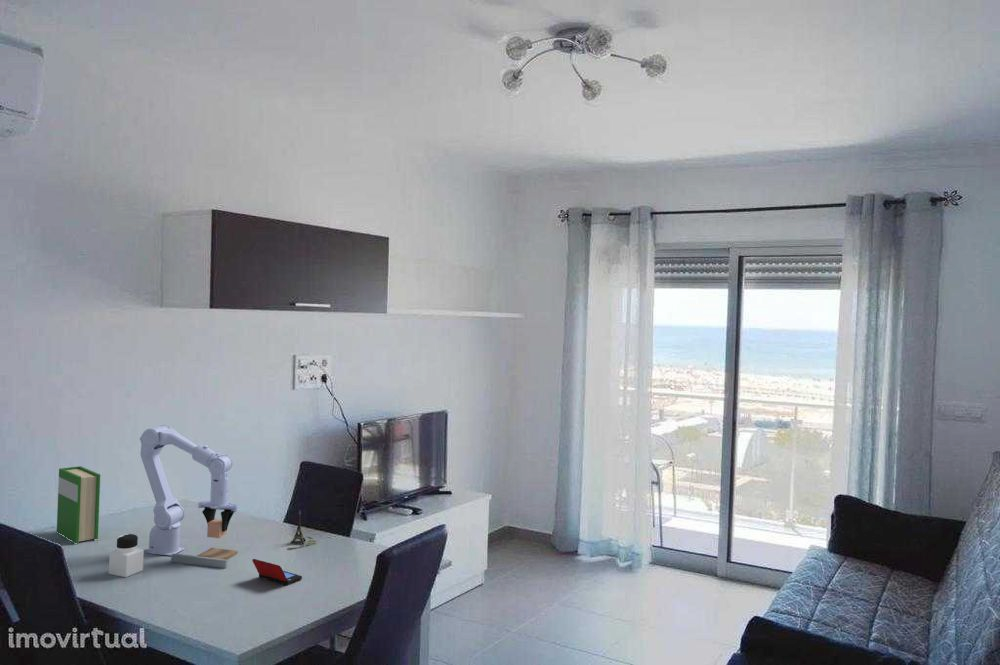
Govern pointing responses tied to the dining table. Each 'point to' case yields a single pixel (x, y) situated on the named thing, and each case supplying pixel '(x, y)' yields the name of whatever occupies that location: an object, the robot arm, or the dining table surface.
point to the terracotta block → (215, 529)
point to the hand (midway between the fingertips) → (217, 530)
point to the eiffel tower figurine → (301, 538)
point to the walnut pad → (218, 553)
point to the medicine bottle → (126, 557)
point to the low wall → (199, 560)
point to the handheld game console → (275, 573)
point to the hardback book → (78, 503)
